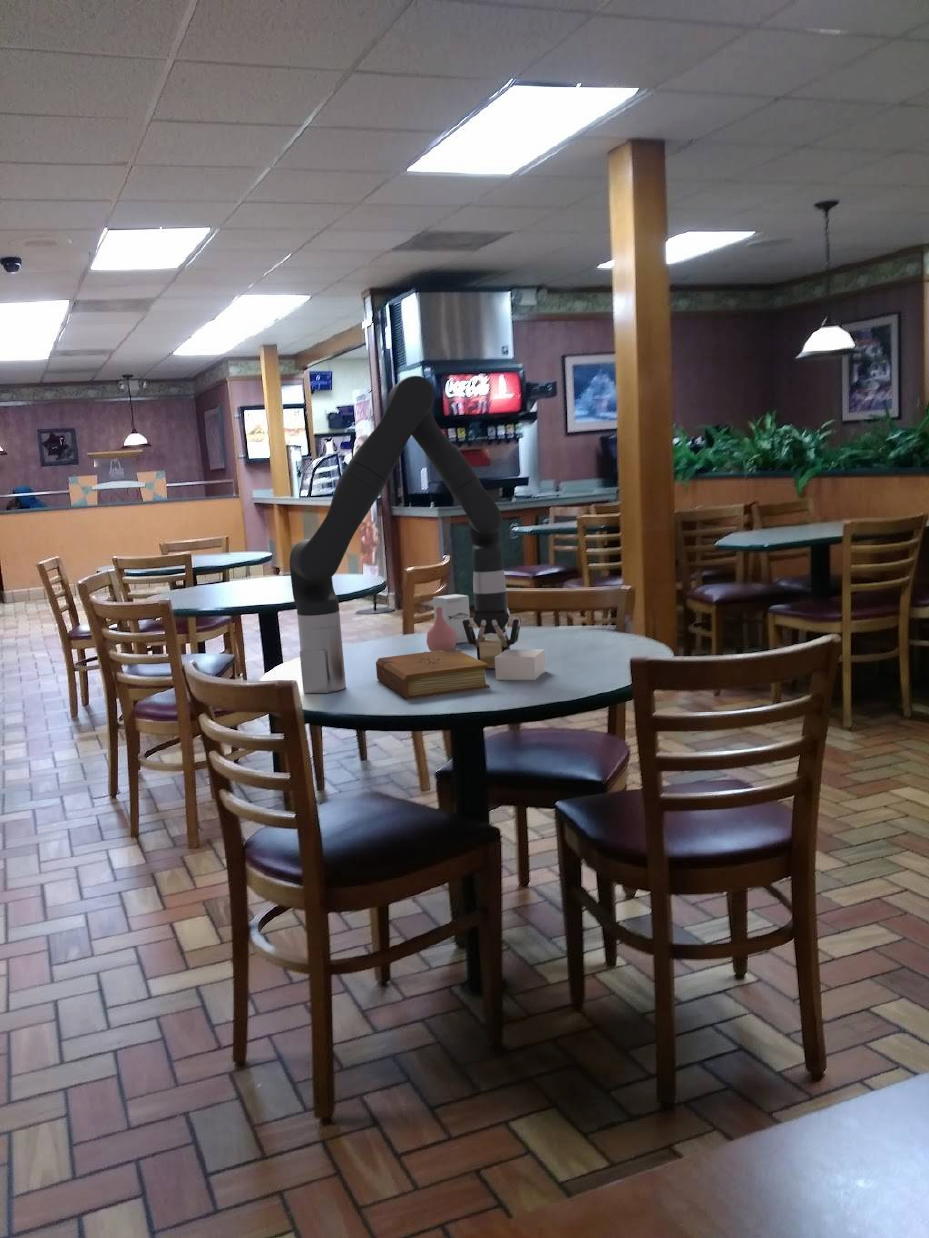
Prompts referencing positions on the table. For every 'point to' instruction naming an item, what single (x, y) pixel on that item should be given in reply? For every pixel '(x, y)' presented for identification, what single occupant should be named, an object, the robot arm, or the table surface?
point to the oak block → (490, 651)
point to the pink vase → (440, 634)
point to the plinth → (520, 664)
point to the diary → (432, 673)
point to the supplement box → (454, 613)
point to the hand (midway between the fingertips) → (494, 661)
